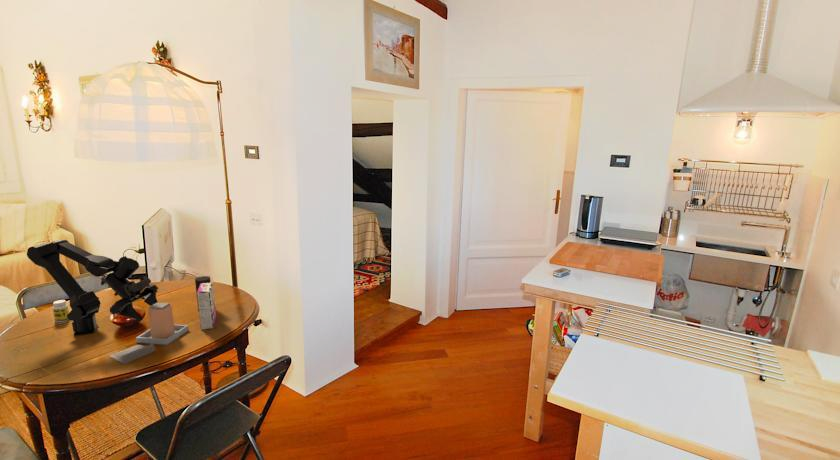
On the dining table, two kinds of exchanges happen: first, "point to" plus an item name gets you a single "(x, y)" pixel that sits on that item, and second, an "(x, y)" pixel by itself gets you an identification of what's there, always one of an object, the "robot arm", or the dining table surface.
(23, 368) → the dining table surface
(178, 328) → the tray
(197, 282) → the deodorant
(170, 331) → the tall pink carton
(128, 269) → the robot arm
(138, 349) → the plate
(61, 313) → the supplement bottle
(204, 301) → the candy bar box
